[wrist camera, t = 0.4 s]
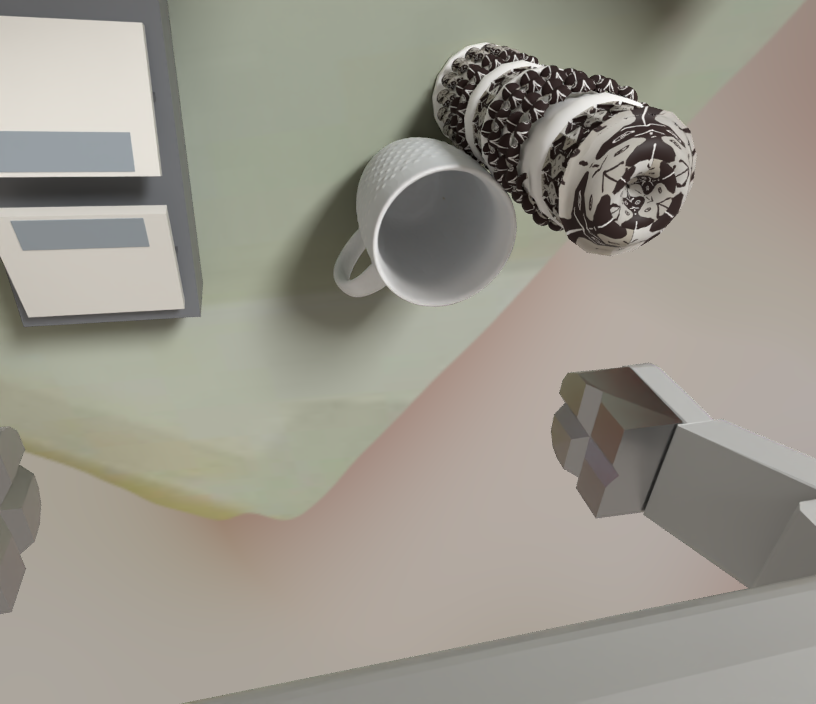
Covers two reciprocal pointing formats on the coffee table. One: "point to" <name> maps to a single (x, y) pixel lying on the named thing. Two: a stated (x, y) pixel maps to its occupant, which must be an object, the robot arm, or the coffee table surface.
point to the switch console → (173, 188)
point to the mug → (427, 225)
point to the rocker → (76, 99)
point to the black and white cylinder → (567, 145)
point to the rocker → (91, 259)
